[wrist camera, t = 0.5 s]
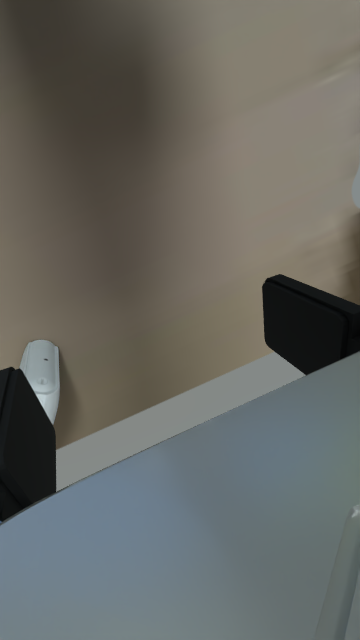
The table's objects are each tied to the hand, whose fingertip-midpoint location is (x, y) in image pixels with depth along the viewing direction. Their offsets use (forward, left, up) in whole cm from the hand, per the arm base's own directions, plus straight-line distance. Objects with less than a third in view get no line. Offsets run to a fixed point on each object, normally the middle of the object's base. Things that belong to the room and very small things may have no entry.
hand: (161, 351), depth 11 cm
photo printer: (+15, -12, -29) cm, 35 cm away
